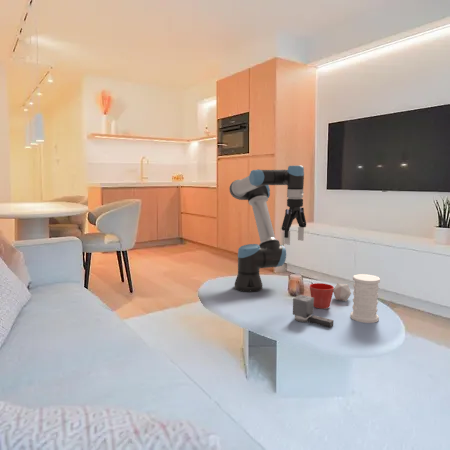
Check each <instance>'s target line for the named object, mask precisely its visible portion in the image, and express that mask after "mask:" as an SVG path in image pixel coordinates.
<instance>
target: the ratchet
mask: <svg viewBox="0 0 450 450" xmlns="http://www.w3.org/2000/svg"><path fill="white" fill-rule="evenodd" d="M294 321H296V322H299V323H310V324H314V325H317V326H322V327H324V328H325V327H326V328H328V329H331V328H332V327H334V320H333V319H331V318H328V317H323V316H319V315H314V314H312V315H310V316H309V317H307V318H305V317H301V316H297V315H294Z"/></svg>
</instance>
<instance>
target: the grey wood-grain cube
mask: <svg viewBox="0 0 450 450" xmlns="http://www.w3.org/2000/svg"><path fill="white" fill-rule="evenodd" d="M314 308H315V307H314V298H313V297H311V296H308V295H304V294H299V295H297V296H295V297H294V298H292V315H294V316H295V315H297V316H301V317H305V318H307V317H309V316H310V315H311V316H313V315H314Z"/></svg>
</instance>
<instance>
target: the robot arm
mask: <svg viewBox="0 0 450 450" xmlns="http://www.w3.org/2000/svg"><path fill="white" fill-rule="evenodd" d="M304 169H305V168H304V166H303V165H288V166H287V169H252V170H251V171H250V173H249V175H248V176H246V177H244V178H241V179H236V180H234V181H232V182H231V183H230V186H229V187H228V188H229V190H228V191H229V194H230V195H231V196H232V197H233V198H234V199H235V200H239V201H247V202H248V204H249V206H251V207H252V211H253V215H254V216H253V217H254V219H255V224H256V228H257V233H258V238H259V241H260V243H259V244H257V243H249V244H248V243H247V244H244V245H241V246H240V247H238V250H237V276H236V278H235V281H234V289H235V290H236V291H239V292H247V293H254V292H255V293H256V292H259V291H261V290H263V286H264V285H263V282H262V279H261V275H260V269H268V268H277V267H278V268H279V267H282V266H284V264H285V263H286V259H287V249H286V246H284V245H288V246H290V245H291V230H290V228H291V226H292V224H293V221H294V220H296V222H297V224H298V227H297V228H298V229H297V241H303V242H304V238H305V237H304V235H305V228H306V227H307V221H306V216H305V209H304V207H303V206H304V199H303V198H304V193H305V192H304V186H305V185H304V183H305V170H304ZM270 186H287V189H286V190H287V192H286V195H287V196H286V198H287V199H286V207H288V208H289V209H288V208H286V209H285V211H284V212H285V213H284V217H283V221H282V225H281V230H282V231H283V244H284V245H283V244H280V243H281V242H280V240H279V239H277V238H276V235H275V232H274V231H275V230H274V227H273V224H272V220H271V219H272V218H271V215H270V211H269V207H268V201H269V198H270V195H271V189H270Z"/></svg>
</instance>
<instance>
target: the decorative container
mask: <svg viewBox="0 0 450 450" xmlns="http://www.w3.org/2000/svg"><path fill="white" fill-rule="evenodd" d="M352 281H354V283H353V291H352V294H353V298H352V311H351V312H350V313H349V314H350V315H349V316H350V319H352V320H353V321H356V322H358V323H363V324H374V323H377V322H379V320H380V316H379V315H378V314H377V313H378V303H379V301H378V298H379V292H378V291H379V283H381V278H380V277H379V276H378V275H373V274H367V273H359V274H354V275H353V276H352Z"/></svg>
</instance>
